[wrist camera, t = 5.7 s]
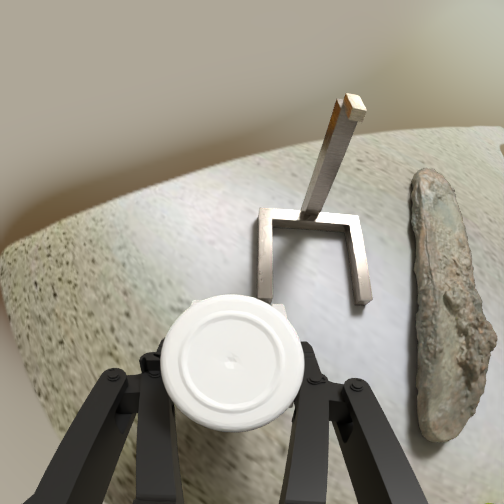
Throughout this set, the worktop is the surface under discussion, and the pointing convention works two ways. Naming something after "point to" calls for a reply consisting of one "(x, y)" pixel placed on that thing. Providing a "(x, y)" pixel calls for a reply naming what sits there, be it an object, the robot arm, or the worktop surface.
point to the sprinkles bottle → (232, 363)
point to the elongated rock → (446, 313)
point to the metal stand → (320, 207)
